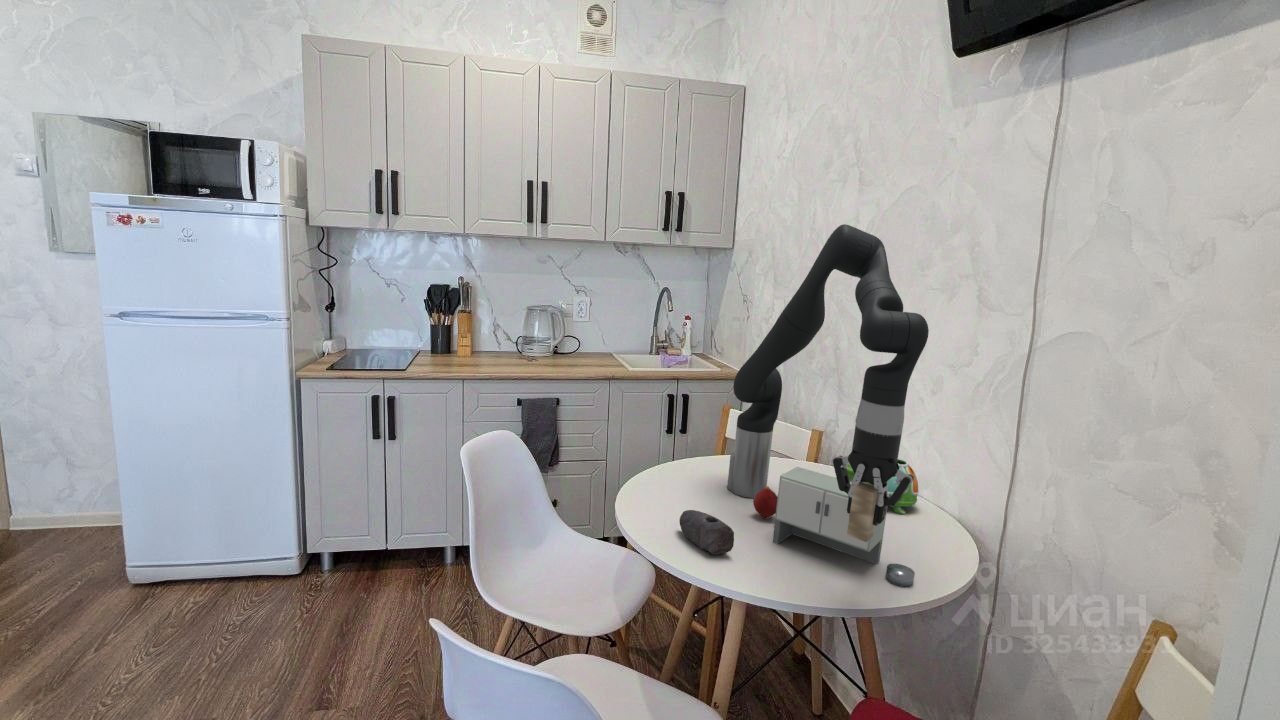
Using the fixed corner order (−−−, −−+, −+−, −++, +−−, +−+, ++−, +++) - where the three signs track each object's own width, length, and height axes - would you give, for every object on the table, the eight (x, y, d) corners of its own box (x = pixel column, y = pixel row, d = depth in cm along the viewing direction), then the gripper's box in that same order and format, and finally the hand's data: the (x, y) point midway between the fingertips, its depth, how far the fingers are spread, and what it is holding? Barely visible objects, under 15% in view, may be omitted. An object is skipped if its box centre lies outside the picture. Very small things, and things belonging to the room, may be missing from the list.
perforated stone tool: (670, 532, 134) (673, 502, 133) (690, 528, 137) (692, 498, 136) (714, 563, 122) (718, 530, 121) (735, 558, 125) (738, 526, 124)
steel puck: (881, 581, 120) (883, 569, 120) (890, 572, 124) (891, 560, 123) (908, 591, 117) (910, 579, 116) (916, 581, 121) (918, 570, 120)
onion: (778, 516, 147) (782, 484, 145) (775, 525, 141) (779, 492, 140) (754, 511, 149) (757, 479, 147) (750, 520, 143) (753, 487, 142)
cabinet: (770, 543, 132) (778, 476, 130) (789, 529, 140) (797, 466, 137) (864, 578, 120) (874, 505, 118) (879, 561, 128) (889, 492, 125)
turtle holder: (845, 487, 169) (850, 445, 167) (916, 502, 162) (923, 459, 160) (838, 502, 158) (844, 457, 156) (914, 519, 151) (922, 473, 149)
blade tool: (846, 535, 108) (853, 486, 107) (874, 510, 120) (881, 467, 118) (866, 542, 106) (874, 493, 105) (893, 516, 118) (900, 472, 116)
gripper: (928, 432, 105) (911, 527, 108) (846, 413, 113) (833, 502, 116) (915, 441, 99) (899, 541, 102) (830, 420, 107) (817, 513, 111)
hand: (864, 519), depth 109 cm, fingers closed on blade tool, 3 cm apart
